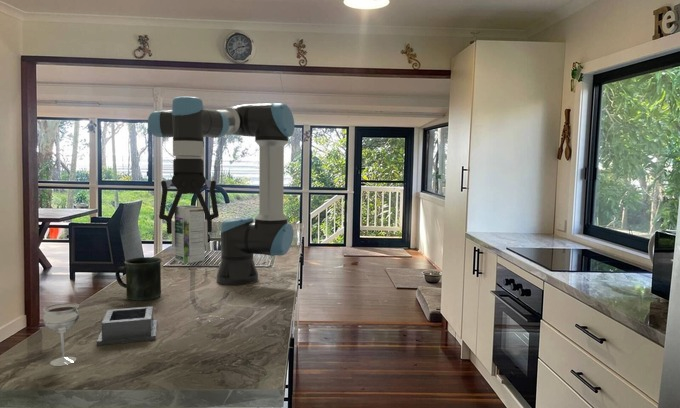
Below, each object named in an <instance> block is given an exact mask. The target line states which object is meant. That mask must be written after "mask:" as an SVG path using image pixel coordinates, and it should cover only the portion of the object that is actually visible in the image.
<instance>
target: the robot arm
mask: <svg viewBox="0 0 680 408" xmlns="http://www.w3.org/2000/svg"><path fill="white" fill-rule="evenodd" d="M147 125H148V126H147V127H148V128H147V129H148V131H150V132H149V133H151V135H152V136H154V137H157V138H172V156H173V157H175V158H173V159H172V169H173V170H172V171H173V172H172V173H173V174H172V177H171V179H167V180H164V179H163V180H161V182H160V185H161V189H162V192H161V200H160V207H159V215H158V217H159V219H160V220H163V221H165V222H166V234H170V235H171V247H172V248H175V220H173V217H174V216H175V210H176V207H177V206H179V202H180V201H181V198H182V195H188V194H190V195H191V194H192V195H195V194H196V196H197V199H198V202H199V204H200V207H203V210H204V216H205V217H206V219H204V241H205V246H209V245H208V243H209V242H208V235H209V234H208V233H212V230H213V228H212V227H213V225H212V222H213V220H214V219H217V218H219V217H220V215H219V208H218V203H217V202H218V201H217V196H216V186H217V185H216V184H217V181H215V180H213V179H212V180H211V179H206V177H205V174H204V173H205V172H204V171H205V170H204V169H205V168H204V167H205V166H204V159H202V157H204V138H213V139H218V138H219V139H220V138H222V137H224V136H232V135H234V136H241V137H252V138H253V137H254V141H255V143H256V144H257V145H258V146H259V147H258V148H259V163H258V164H259V167H258V168H259V177H258V179H259V180H258V181H259V182H258V183H259V185H258V186H259V188H258V189H259V194H258V196H259V204H258V205H259V206H258V210H259V211H258V214H257V216H255V218H253V217H239V218H233V219H227V220H223V221H222V222H221V226H220V253H221V254H220V255H221V257H220V258H221V260H220V264H219V266H218V270H217V273H216V282H217V283H218V284H221V285H225V286H226V285H227V286H228V285H229V286H239V285H240V286H241V285H242V286H243V285H249V284H253V283H256V282H257V281H259V273H258V269H257V267H256V263H255V261H254V255H265V256H266V255H267V256H273V257H274V256H285V255H286V254H287V253H288V252H289V250H290V248H291V247H292V244H293V241H294V227H293V225H292V224H290V222H288V219H289V218H288V216H286V215H285V213H284V189H285V187H284V181H285V180H284V173H285V171H284V170H285V169H284V167H285V161H284V158H285V156H284V155H285V152H284V151H285V149H284V148H285V146H286V145H287V144H288V143H289V138H290V137H293V135H294V131H295V119H294V114H293V113H292V110H291V109H290V107H289V106H288V105H287V104H285V103H280V102H278V103H277V102H268V103H266V102H265V103H263V102H261V103H244V104H240V105H233V106H225V107H222V108H220V109H209V108H204V105H203V100H202V99H201V98H200V97H197V96H177V97H174V98H173V99H172V108H171V110H170V109H169V110H163V109H162V110H155V111H152V112H151V113H150V114H149V116H148V119H147ZM205 184H206V187H207V189H209V195H210V196H209V197H210V202H211V209H212V213H210V210H209V208H208V205H207V203H206V201H205V199H204V196H203V194H202V192H201V189H202V188H203V186H204V185H205ZM171 185H173V186H174V187H175V189H176V191H177V192H176V194H175V197H174V199H173V201H172V204H171V207H170V208H169V210H168V214H167V215H166V214H165V213H166V212H165V211H166V207H167V206H166V205H167V198H168V190H169V188H171Z"/></svg>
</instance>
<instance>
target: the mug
mask: <svg viewBox="0 0 680 408" xmlns="http://www.w3.org/2000/svg"><path fill="white" fill-rule="evenodd" d="M162 261H163V259H162V258H161V257H160V258H159V257H151V256H149V257H148V256H147V257H146V256H143V257H135V258H134V257H133V258H129V259H126V260H124V262H123V263H124V264H125V265H124V266H123V265H122V266H119V267H117V269H116V270H115V279H116V281H117V283H118V285H119V286H120V287H122V288H125V289H126V291H125V292H126V298H127V299H128V300H130V301H137V302H138V301H149V300H155V299H157V298H159V297H160V296H161V294H162V277H161V276H162V274H161V273H162V272H161V271H162V270H161V262H162ZM122 270H125V282H124V281H123V280H122V277H121V275H120V274H121V273H120V271H122Z"/></svg>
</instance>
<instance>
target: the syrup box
mask: <svg viewBox="0 0 680 408" xmlns="http://www.w3.org/2000/svg"><path fill="white" fill-rule="evenodd" d="M204 220H205V213H204V210H203V207H202V206H197V205H183V204H182V205H177V207H176V210H175V212H174V221H175V247H174V260H175V262H180V263H182V264H183V263H184V264H192V263H197V262H203V261H205V259H206V256H205V255H206V254H205V253H206V252H205V246H206V245H205V241H204Z"/></svg>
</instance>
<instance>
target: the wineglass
mask: <svg viewBox="0 0 680 408" xmlns="http://www.w3.org/2000/svg"><path fill="white" fill-rule="evenodd" d="M79 307H80V305H79V304H78V303H75V302H63V303H62V302H61V303H56V304H51V305H48V306H46V307H44V308H43V312H44V315H43V323H44V325H45V327H46V328H48V329H49V330H51V331H54V332H57V333H58V334H59V335H60V347H61V357H58V358H55V359H53V360H51V361H50V362H49V365H51V366H55V367H58V366H59V367H60V366H68V365H70V364H72V363H74V362H76V360H77V357H75V356H71V355H70V356H65V333H67V331H68V330H70V329H72V328H73V327H74V326H75V325H76V324H77V323H78V322H79V319H80V312H79V310H78V309H79Z"/></svg>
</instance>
